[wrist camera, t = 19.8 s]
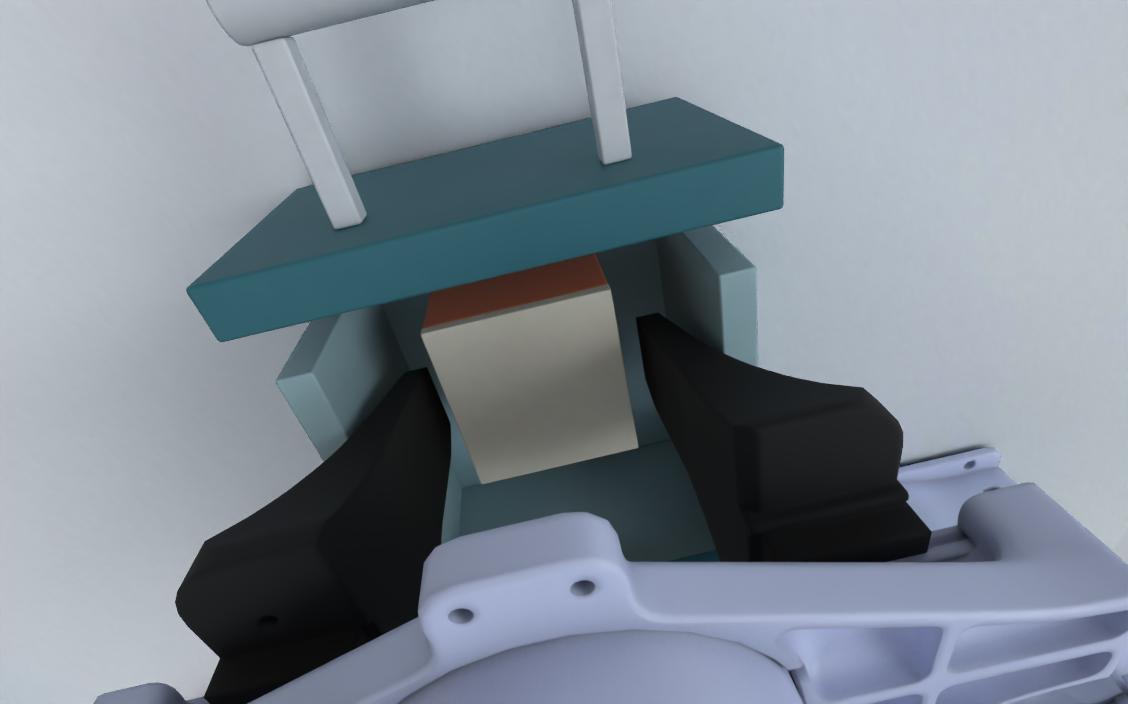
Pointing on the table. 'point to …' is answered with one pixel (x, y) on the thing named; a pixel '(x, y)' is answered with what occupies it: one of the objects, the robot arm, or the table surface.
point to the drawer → (499, 263)
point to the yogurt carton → (532, 368)
